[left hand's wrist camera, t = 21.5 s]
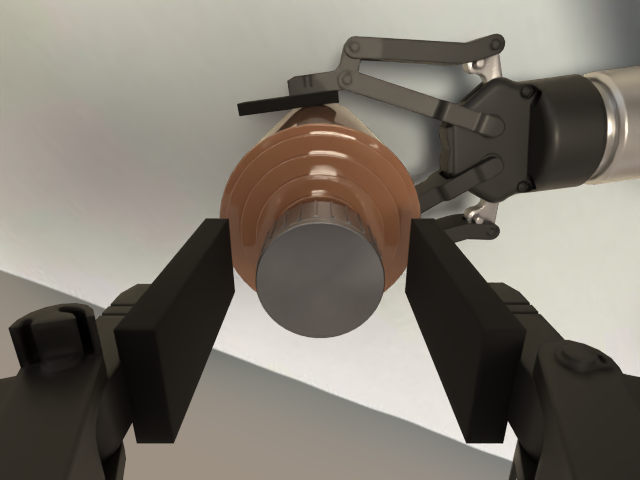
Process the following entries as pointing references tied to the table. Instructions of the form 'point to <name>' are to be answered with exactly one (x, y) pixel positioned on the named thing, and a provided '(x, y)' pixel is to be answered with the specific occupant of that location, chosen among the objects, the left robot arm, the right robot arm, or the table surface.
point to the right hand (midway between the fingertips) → (254, 173)
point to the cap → (320, 270)
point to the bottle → (320, 184)
